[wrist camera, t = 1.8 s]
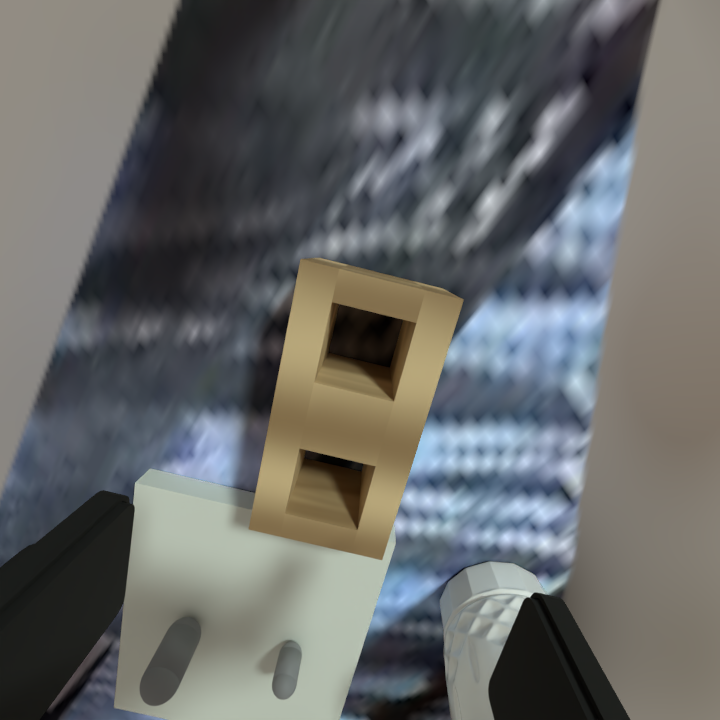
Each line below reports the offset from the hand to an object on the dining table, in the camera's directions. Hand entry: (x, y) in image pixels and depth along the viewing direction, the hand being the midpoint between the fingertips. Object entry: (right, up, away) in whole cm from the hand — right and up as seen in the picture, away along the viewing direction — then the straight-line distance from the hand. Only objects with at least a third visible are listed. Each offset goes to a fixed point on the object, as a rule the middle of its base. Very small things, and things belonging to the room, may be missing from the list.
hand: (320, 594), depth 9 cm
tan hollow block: (+1, +4, +12) cm, 13 cm away
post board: (-6, -11, +17) cm, 21 cm away
